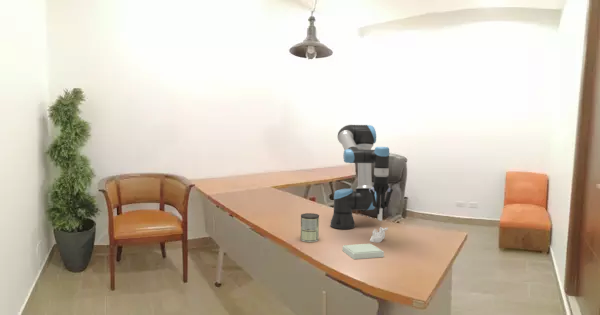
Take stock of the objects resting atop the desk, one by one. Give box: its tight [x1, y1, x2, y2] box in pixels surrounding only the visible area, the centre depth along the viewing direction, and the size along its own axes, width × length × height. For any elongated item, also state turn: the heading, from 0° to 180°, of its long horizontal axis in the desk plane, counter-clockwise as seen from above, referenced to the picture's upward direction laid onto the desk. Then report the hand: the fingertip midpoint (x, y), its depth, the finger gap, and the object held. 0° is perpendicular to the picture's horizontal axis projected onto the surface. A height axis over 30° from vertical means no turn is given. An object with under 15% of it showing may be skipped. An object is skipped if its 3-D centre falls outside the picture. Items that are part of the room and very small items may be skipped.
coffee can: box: [300, 212, 320, 243], centre depth 225 cm, size 10×10×14 cm
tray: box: [342, 243, 385, 260], centre depth 201 cm, size 14×16×3 cm
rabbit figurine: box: [369, 226, 389, 244], centre depth 223 cm, size 12×8×10 cm, turn 117°
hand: (379, 220), depth 213 cm, fingers closed
